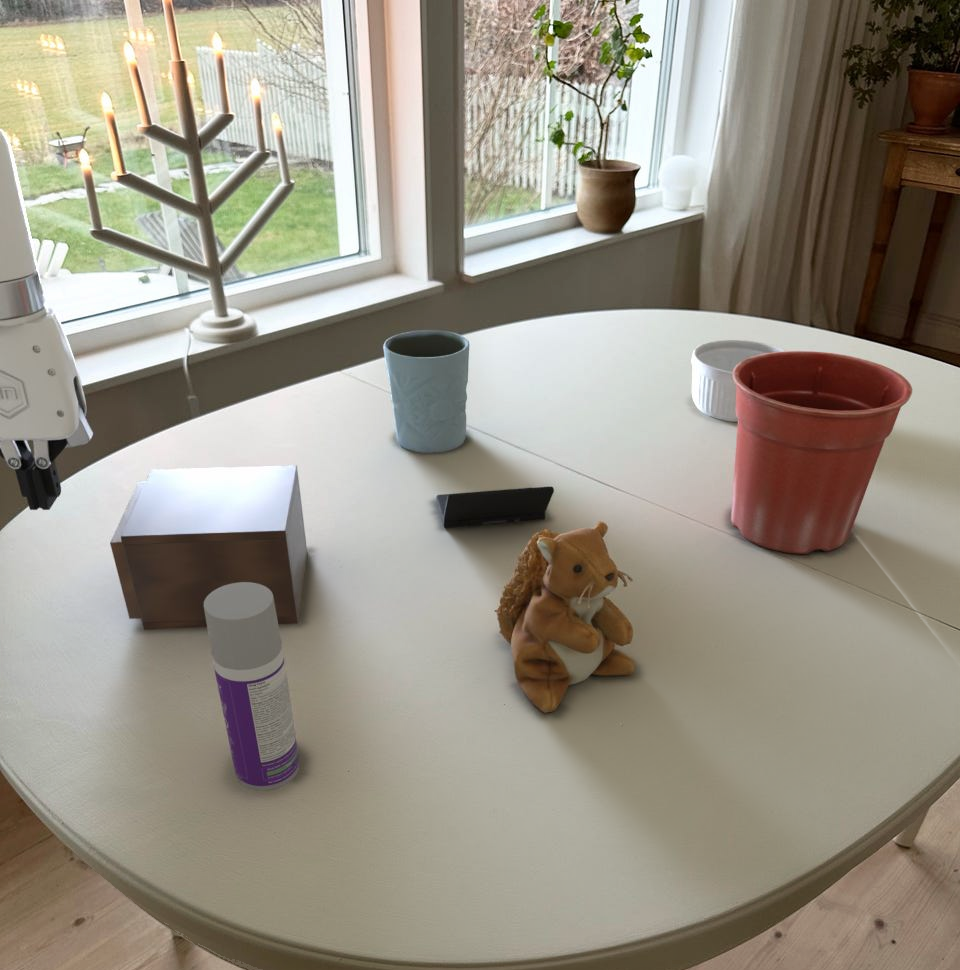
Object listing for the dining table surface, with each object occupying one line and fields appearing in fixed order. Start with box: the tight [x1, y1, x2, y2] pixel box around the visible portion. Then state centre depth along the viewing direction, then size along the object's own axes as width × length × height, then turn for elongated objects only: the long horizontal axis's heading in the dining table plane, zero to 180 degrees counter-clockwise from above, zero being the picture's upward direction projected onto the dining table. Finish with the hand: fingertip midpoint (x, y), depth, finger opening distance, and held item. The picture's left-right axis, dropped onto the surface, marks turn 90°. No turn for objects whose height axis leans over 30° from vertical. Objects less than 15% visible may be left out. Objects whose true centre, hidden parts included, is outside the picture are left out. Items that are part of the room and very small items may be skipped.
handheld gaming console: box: [436, 486, 555, 529], centre depth 100 cm, size 12×7×10 cm
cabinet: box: [121, 464, 308, 631], centre depth 88 cm, size 14×13×10 cm
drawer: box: [109, 481, 146, 620], centre depth 87 cm, size 14×11×8 cm
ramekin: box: [691, 339, 786, 423], centre depth 125 cm, size 13×13×7 cm
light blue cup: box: [382, 329, 470, 454], centre depth 115 cm, size 10×10×12 cm
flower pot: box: [730, 350, 913, 555], centre depth 96 cm, size 16×16×16 cm
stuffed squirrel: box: [494, 520, 636, 714], centre depth 78 cm, size 10×14×13 cm
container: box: [204, 582, 300, 792], centre depth 66 cm, size 5×5×15 cm
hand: (44, 502), depth 87 cm, fingers closed
